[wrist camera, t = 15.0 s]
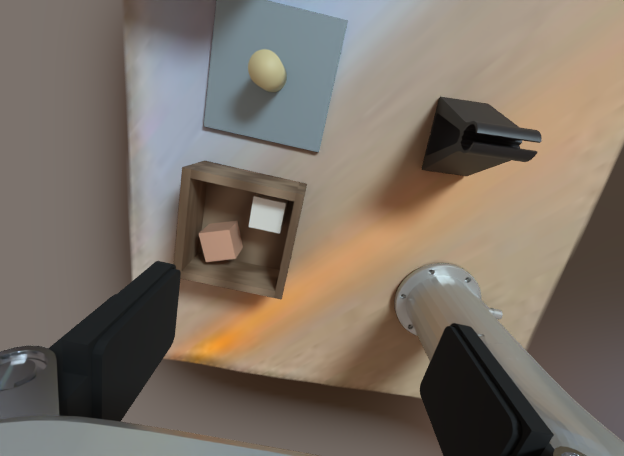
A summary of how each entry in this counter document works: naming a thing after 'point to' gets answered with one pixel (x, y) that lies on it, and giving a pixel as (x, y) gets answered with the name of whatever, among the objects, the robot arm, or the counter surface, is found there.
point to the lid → (272, 71)
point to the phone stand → (473, 138)
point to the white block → (268, 213)
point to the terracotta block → (221, 241)
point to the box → (237, 207)
